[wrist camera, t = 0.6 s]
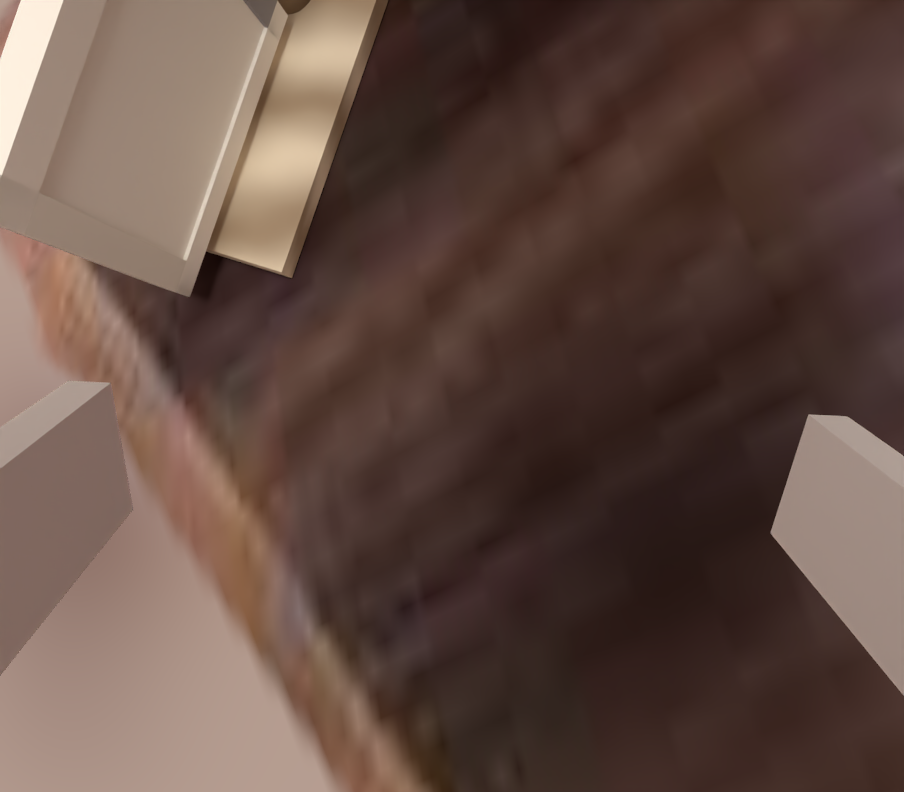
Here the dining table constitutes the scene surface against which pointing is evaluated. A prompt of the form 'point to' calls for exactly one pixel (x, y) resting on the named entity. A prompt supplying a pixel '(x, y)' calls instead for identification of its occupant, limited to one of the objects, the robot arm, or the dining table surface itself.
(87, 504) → the robot arm
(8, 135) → the gate
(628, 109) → the dining table surface
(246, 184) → the gate frame
